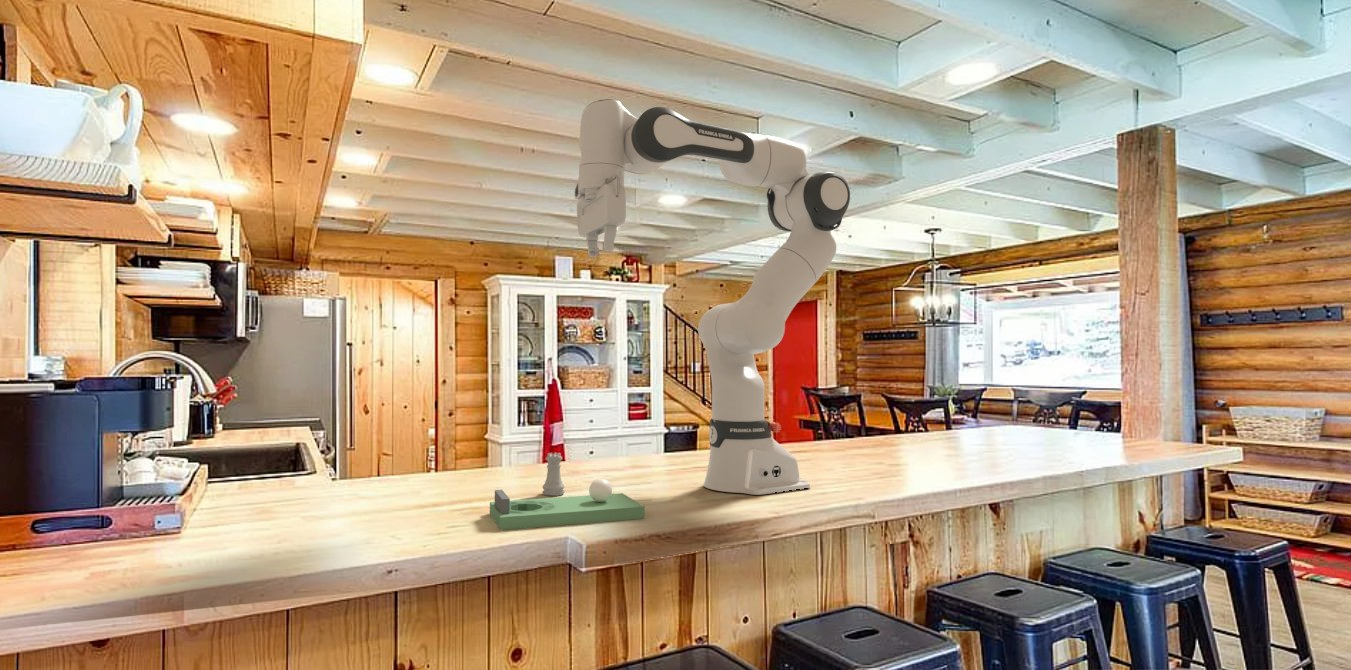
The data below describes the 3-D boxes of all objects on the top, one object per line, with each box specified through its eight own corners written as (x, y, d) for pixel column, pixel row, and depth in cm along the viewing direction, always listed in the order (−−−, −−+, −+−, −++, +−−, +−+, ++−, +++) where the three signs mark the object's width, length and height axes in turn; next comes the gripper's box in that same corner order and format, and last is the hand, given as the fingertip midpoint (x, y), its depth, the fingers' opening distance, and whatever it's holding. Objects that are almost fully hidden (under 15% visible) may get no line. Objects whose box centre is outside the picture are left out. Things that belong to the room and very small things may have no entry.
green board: (622, 504, 132) (622, 480, 132) (644, 518, 121) (644, 492, 121) (489, 513, 123) (490, 488, 123) (500, 530, 112) (500, 501, 112)
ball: (608, 498, 127) (608, 476, 127) (614, 503, 123) (615, 480, 123) (586, 500, 125) (586, 477, 125) (592, 505, 122) (592, 481, 122)
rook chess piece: (560, 497, 138) (560, 455, 138) (538, 495, 138) (539, 454, 139) (568, 492, 142) (568, 452, 142) (547, 491, 143) (547, 451, 143)
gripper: (635, 173, 131) (634, 248, 131) (601, 195, 150) (600, 260, 150) (602, 169, 129) (601, 246, 128) (572, 192, 148) (571, 258, 147)
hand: (600, 254), depth 139 cm, fingers open, 8 cm apart
